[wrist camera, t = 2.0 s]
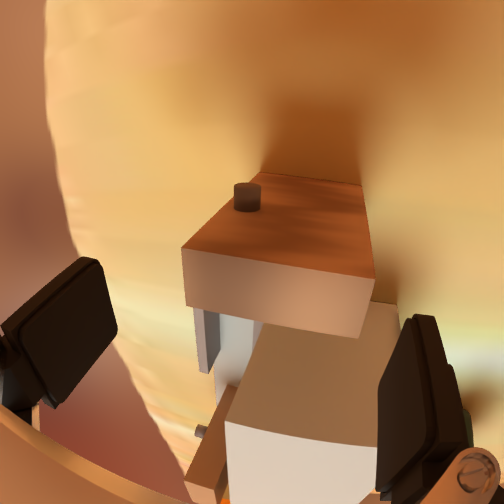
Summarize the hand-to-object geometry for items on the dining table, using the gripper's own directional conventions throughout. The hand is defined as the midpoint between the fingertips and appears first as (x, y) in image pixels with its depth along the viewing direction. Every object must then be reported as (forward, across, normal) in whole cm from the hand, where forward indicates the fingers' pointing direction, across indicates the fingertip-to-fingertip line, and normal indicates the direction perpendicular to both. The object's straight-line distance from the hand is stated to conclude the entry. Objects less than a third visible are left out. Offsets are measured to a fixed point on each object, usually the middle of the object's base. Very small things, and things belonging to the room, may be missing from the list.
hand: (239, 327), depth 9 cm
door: (+13, -1, 0) cm, 13 cm away
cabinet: (+13, -1, +16) cm, 21 cm away
